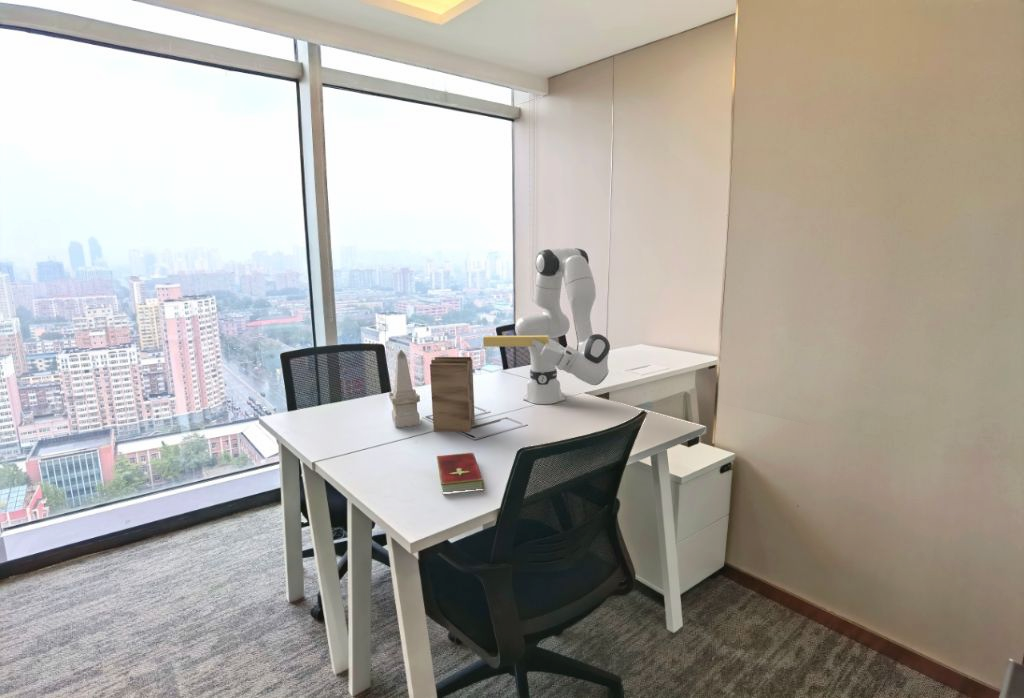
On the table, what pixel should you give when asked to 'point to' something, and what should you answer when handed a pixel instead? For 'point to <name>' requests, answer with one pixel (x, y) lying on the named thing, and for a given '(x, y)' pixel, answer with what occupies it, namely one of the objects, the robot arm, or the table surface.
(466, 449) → the table surface
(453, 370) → the stand
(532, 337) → the yellow wooden bar
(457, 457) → the hardcover book
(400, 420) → the miniature monument
